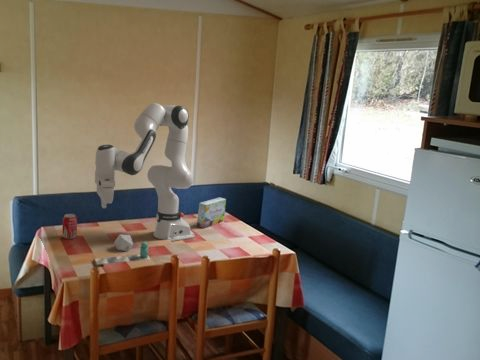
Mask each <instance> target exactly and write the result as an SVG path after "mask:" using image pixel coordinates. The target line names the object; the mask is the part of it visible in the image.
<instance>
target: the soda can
mask: <svg viewBox="0 0 480 360" xmlns="http://www.w3.org/2000/svg"><path fill="white" fill-rule="evenodd" d="M77 234H78V218H77V215H76V214H75V213H66V214H64V216H63V217H62V237H63V239H64V238H65V239H67V240H72V239H75V238H76V237H77Z"/></svg>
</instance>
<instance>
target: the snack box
mask: <svg viewBox="0 0 480 360" xmlns="http://www.w3.org/2000/svg"><path fill="white" fill-rule="evenodd" d="M226 204H227V199H226V198H223V197H220V196H219V197H215V198H212V199H209V200H205V201H200V202H199V203H198V212H197V222H196V227H198V228H201V229H206V228H208V227H212V226H215V225H218V224H220V222H221V223H224V222H223V221H224V220H225V212H226ZM217 223H218V224H217ZM214 224H215V225H214Z"/></svg>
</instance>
